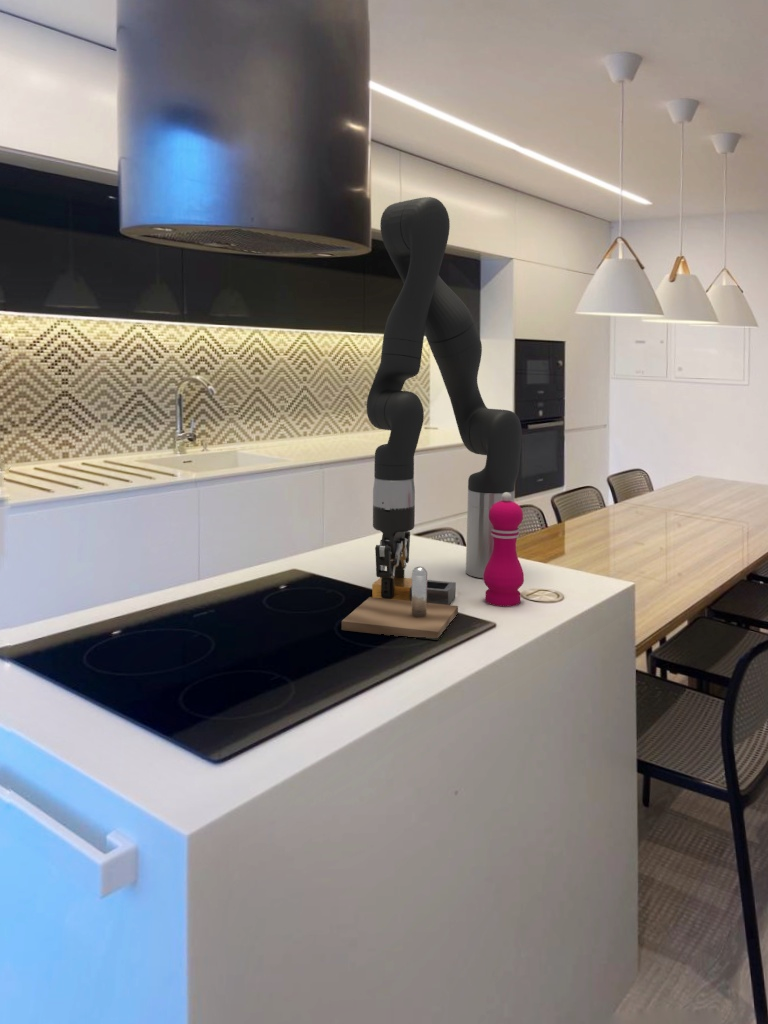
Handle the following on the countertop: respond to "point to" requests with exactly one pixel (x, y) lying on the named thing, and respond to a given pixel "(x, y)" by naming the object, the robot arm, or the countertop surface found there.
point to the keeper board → (399, 618)
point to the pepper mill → (504, 554)
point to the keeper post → (419, 592)
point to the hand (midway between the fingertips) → (392, 592)
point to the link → (435, 590)
